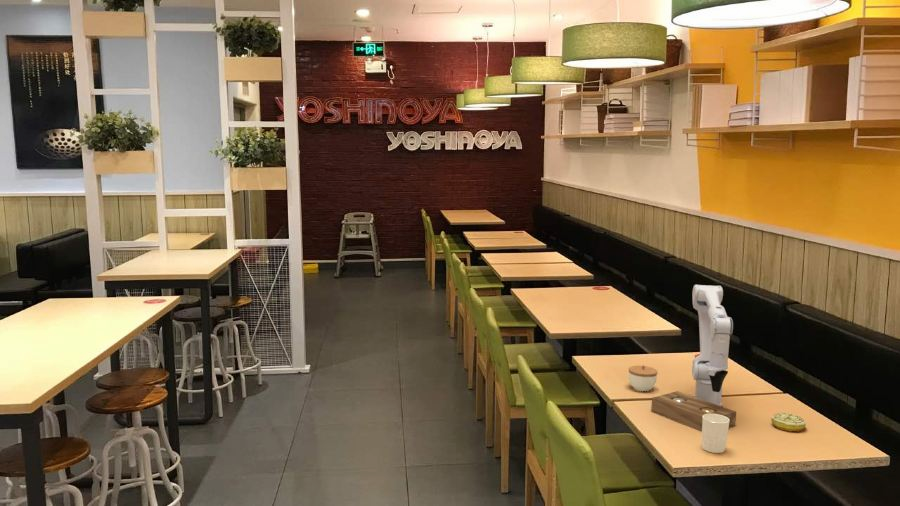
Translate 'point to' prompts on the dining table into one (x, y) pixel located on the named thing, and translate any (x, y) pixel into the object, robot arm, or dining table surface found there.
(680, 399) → the silver ball
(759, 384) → the dining table surface
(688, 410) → the walnut block
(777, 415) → the yellow green round disc
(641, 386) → the lidded jar
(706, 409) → the gold ball
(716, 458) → the dining table surface
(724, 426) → the white cup
